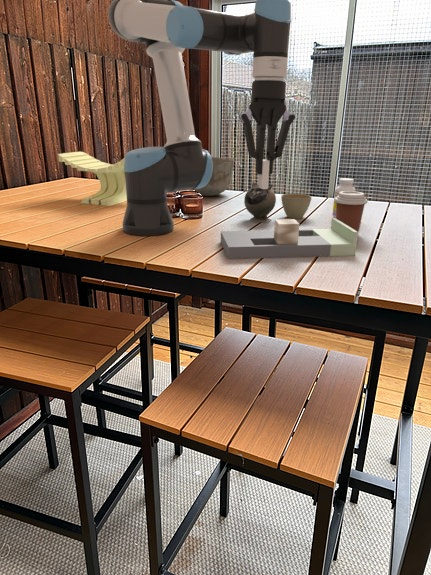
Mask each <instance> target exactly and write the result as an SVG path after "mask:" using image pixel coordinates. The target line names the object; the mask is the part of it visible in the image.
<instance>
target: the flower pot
mask: <svg viewBox="0 0 431 575" xmlns="http://www.w3.org/2000/svg"><path fill="white" fill-rule="evenodd" d="M312 198H313V197H312V196H311V195H308V194H302V193H285V194H282V195H281V199H280V200H281V205H282V208H283V211H284V213H285V216H286V217H287V218H288V219H295V220H296V219H297V220H298V219H302V218H303V217H304V216H305V214H306V213H307V211H308V210H309V208H310V205H311V201H312Z"/></svg>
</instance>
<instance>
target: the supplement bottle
mask: <svg viewBox="0 0 431 575" xmlns="http://www.w3.org/2000/svg"><path fill="white" fill-rule="evenodd" d="M353 185H354V178H348V177H347V178H346V177H344V178H343V177H342V178H341V177H340V178H339V179H338V186H336V187H335V189H334V195H333V196H334V197H333V206H332V217H333V218H336V202H335V201H334V199H335V198H336V197H337V196H338V195H339V192H341V191H356V190H357V189H356V188H355V187H354V186H353ZM356 192H357V191H356Z"/></svg>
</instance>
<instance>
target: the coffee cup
mask: <svg viewBox="0 0 431 575" xmlns="http://www.w3.org/2000/svg"><path fill="white" fill-rule="evenodd" d="M334 201H335V202H336V219H338V220H339V221H341V222H343V223H344V224H346V225H347V226H349V227H351V228H352V229H354V230H356V231H357V232H358V233H360V228H361V224H362V223H361V222H362V218H363V213H364V209H365V206H366V204H368V202H369V201H368V199H367V198H366V197H365V193H364V192H361V191H341V192H339V195H338V196H337V197H336V198H335V199H334V198H333V202H334Z"/></svg>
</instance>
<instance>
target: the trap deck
mask: <svg viewBox="0 0 431 575" xmlns="http://www.w3.org/2000/svg"><path fill="white" fill-rule="evenodd" d="M358 235H359V232H357V231H356V230H354V229H352V228H351V227H349V226H347V225H346V224H344V223H343V222H341V221H339V220H338V219H336V218H334V217H333V218H332V217H331V226H330V228H311V229H310V228H307V229H306V228H305V229H300V228H299V236H298V244H277V242H276V241H275V239H274V229H265V230H264V229H261V230H257V229H256V230H221V231H220V244H221V246H222V248H223V251H224V253H225V255H226V257H227V259H228V260H239V259H242V260H244V259H276V258H277V259H279V258H310V257H311V258H313V257H315V258H316V257H345V256H356V250H357V242H358Z"/></svg>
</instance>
